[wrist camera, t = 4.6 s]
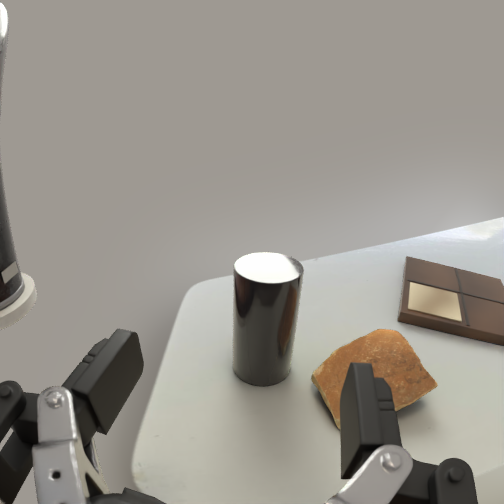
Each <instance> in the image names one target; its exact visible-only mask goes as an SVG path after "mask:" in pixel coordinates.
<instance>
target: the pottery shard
mask: <svg viewBox="0 0 504 504" xmlns="http://www.w3.org/2000/svg"><path fill="white" fill-rule="evenodd" d="M351 362H357V363H371V364H372V367H373V373H374V377H377V378H384V379H385V381H386V382H387V383H388V385H389V386H390V387H391V391H392V395H393V402H394V405H395V411H398V410H400V409H402V408H403V407H406V406H408V405H410V404H412V403H414V402H415V401H416V400H418V399H419V398H420V397H422V396H424V395H425V394H427V393H428V392H430V391H431V390H432V389H434V388H436V387H437V386H438V385H437V383H436V382H435V380H434V379H433V378H432V377H431V376H430V374H429V373H428V372H427V371H426V370H425V369H424V367H423V366H422V364H421V363H420V359H419V358H418V356H417V355H416V353H415V352H414V350H413V348H412V347H411V346H410V345H409V343H408V341H407V340H406V339H405V338H404V337H403V336H402V335H401V334H400V333H399V332H397V331H393V330H386V329H377V330H375V331H373V332H371V333H369V334H367V335H366V336H363V337H360V338H358V339H356V340H354V341H353V342H351V343H349V344H347V345H345V346H343V347H340V348H339V349H337V350H335V351H334V352H333V353H332V354H331V355H330V357H329V358H327V359H326V360H325V361H324V362H323V363H322V364H321V365H320V366H319V367H318V368H317V369H316V370H315V371H314V372H313V374H312V378H311V379H312V382H313V383H314V384H315V385H316V387H317V388H318V390H319V391H320V393H321V395H322V397H323V400H324V401H325V403H326V405H327V407H328V408H329V410H330V411H331V413H332V415H333V417H334V420H335V423H336V425H337V427H338V429H340V396H341V391H342V388H343V385H344V381H345V378H346V375H347V372H348V368H349V365H350V363H351Z"/></svg>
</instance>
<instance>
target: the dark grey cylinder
mask: <svg viewBox="0 0 504 504" xmlns="http://www.w3.org/2000/svg"><path fill="white" fill-rule="evenodd" d="M303 272H304V269H303V266H302V265H301V263H300V262H298V261H297V260H295V259H294V258H291V257H289V256H286V255H283V254H277V253H268V252H267V253H266V252H261V253H252V254H248V255H245V256H243V257H241V258H239V259H238V260H237V261H236V262H235V264H234V290H233V369H234V372H235V374H236V375H237V376H238V377H239V378H240V379H241V380H242V381H244V382H246V383H248V384H251V385H255V386H270V385H274V384H277V383H279V382H281V381H282V380H284V379H285V378H286V377H287V375H288V374H289V371H290V366H291V360H292V353H293V346H294V340H295V333H296V326H297V318H298V311H299V304H300V296H301V288H302V280H303Z"/></svg>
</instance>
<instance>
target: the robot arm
mask: <svg viewBox="0 0 504 504" xmlns="http://www.w3.org/2000/svg"><path fill="white" fill-rule="evenodd" d="M8 30H9V25H8V14H7V11H6V8H5V6H4V5H3V3H1V2H0V115H1V100H2V82H3V72H4V64H5V57H6V50H7V42H8ZM24 288H25V284H24V280H23V277H22V275H21V272H20V268H19V264H18V260H17V256H16V251H15V246H14V242H13V237H12V232H11V227H10V222H9V217H8V211H7V205H6V199H5V191H4V183H3V175H2V167H1V154H0V311H1V310H3V309H5V308H6V307H8V306H10V305H11V304H12V303H14V302H15V301H16V300H17V299H18V298H19V297H20V296H21V295H22V293H23V291H24ZM143 366H144V362H143V357H142V353H141V348H140V343H139V338H138V335H137V333H136V332H131V331H127V330H123V329H117V330H116V331H115V332H114V333H113V335H112V336H111V337H110V338H109V339H106V338H105V339H103V340H102V341H100V342H98V343H97V344H95V345H94V346H93V347H92V349H91V350H90V351H89V352H88V355H86V356H85V357H84V358H83V360H82V362H80V363H79V365H78V366H77V367H76V368H75V370H74V371H73V372H72V373H71V375H70V376H69V377H68V379H67V380H66V381H65V382H64V383H63V385H62V386H52V387H49V388H47V389H45V390H44V391H42V392H41V394H34V393H26V392H23V390H22V388H21V386H20V385H19V384H18V383H17V382H15V381H5V382H2V383H0V443H1V441H2V440H3V438H4V437H5V435H6V434H7V432H8V431H9V429H10V428H12V429H13V433H12V435H11V436H10V437H9V439H8V440H7V442H6V444H5V445H4V447H3V448H2V450H1V451H0V504H12V503H13V501H14V500H15V498H16V496H17V494H18V492H19V490H20V488H21V486H22V485H23V483H24V481H25V479H26V477H27V476H28V474H29V472H30V470H31V468H32V467H34V477H35V486H36V492H37V499H38V504H166V503H164V502H162V501H160V500H158V499H157V498H155V497H152V496H149V495H146V494H143V493H140V492H137V491H134V490H131V489H128V488H124V490H123V493H122V494H119V493H116V494H115V493H112V494H110V491H109V489H108V487H107V485H106V483H105V481H104V478H103V475H102V471H101V467H100V463H99V459H98V455H97V451H96V446H95V442H94V439H93V435H94V434H95V432H96V431H97V432H100V433H102V434H105V435H106V434H107V433H108V431H109V429H110V428H111V426H112V424H113V422H114V421H115V419H116V417H117V415H118V414H119V412H120V410H121V409H122V407H123V405H124V403H125V402H126V400H127V398H128V397H129V395H130V393H131V392H132V390H133V388H134V386H135V385H136V383H137V382H138V380H139V378H140V376H141V375H142V372H143ZM340 431H341V479H350V480H349V481H348V482H347V484H346V485H345V486H344V487H343V488H342V489H341V490H340V491H339V492H338V493H337V494H336V495H335V496H332V497H331V498H330V499H329V500H328V501H327V502H326V503H325V504H478V502H477V496H476V489H475V483H474V478H473V473H472V470H471V468H470V466H469V465H468V464H467V463H466V462H465V461H463V460H461V459H457V458H450V459H446V460H444V461H443V462H442V463H440V465H439V466H438V465H433V464H428V463H423V462H419V461H416V460H414V459H413V458H412V457H411V455H410V454H409V453H408V451H406V450H405V449H404V448H403V447H402V443H401V437H400V432H399V426H398V421H397V415H396V411H395V405H394V402H393V395H392V391H391V387H390V386H389V385H388V383H387V382H386V381H385V379H384V378H377V377H374V373H373V367H372V364H371V363H357V362H351V363H350V365H349V368H348V372H347V375H346V378H345V381H344V385H343V388H342V391H341V396H340Z"/></svg>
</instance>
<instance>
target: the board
mask: <svg viewBox="0 0 504 504" xmlns="http://www.w3.org/2000/svg"><path fill="white" fill-rule="evenodd" d="M398 321H401V322H405V323H409V324H413V325H417V326H421V327H425V328H429V329H434V330H438V331H442V332H446V333H451V334H455V335H459V336H464V337H468V338H472V339H477V340H481V341H486V342H490V343H495V344H499V345H504V286H503V284H502V282H501V280H500V279H497V278H493V277H489V276H485V275H481V274H477V273H473V272H469V271H465V270H461V269H457V268H453V267H449V266H445V265H441V264H437V263H433V262H429V261H425V260H420V259H416V258H412V257H408V256H406V260H405V266H404V276H403V285H402V293H401V300H400V308H399V315H398Z"/></svg>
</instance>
